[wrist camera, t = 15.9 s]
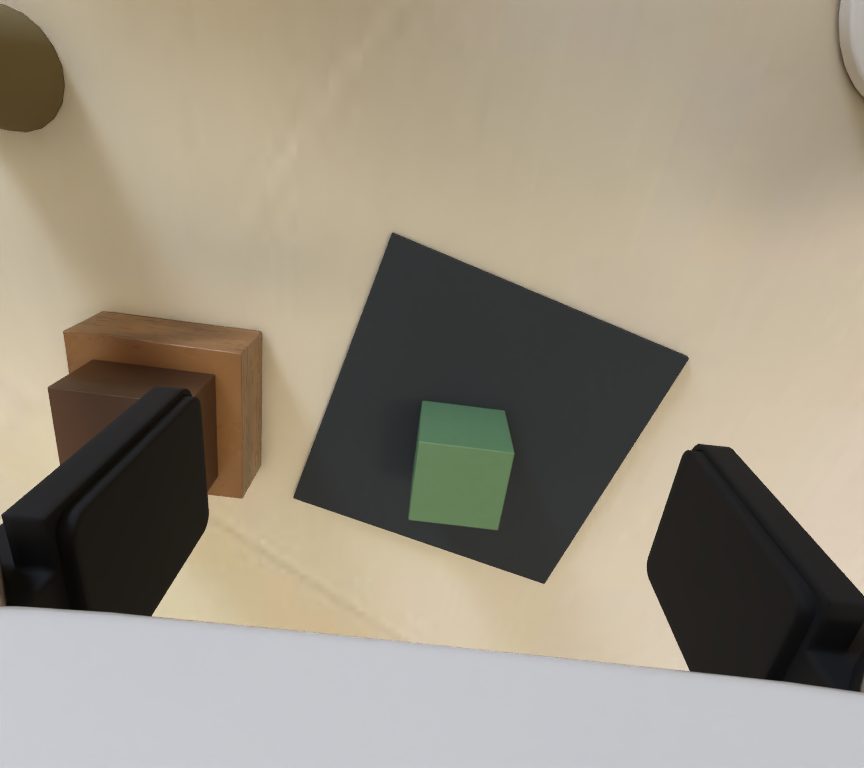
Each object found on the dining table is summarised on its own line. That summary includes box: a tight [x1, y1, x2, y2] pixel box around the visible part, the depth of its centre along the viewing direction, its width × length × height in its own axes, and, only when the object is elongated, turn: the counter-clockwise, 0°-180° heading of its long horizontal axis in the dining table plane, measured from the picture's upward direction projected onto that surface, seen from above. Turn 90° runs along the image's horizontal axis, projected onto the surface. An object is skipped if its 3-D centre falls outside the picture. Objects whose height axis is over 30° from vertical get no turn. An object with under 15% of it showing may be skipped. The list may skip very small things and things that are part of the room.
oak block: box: [63, 311, 262, 498], centre depth 35 cm, size 10×10×4 cm
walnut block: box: [48, 359, 218, 492], centre depth 32 cm, size 7×7×4 cm
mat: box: [294, 233, 689, 584], centre depth 38 cm, size 20×20×1 cm
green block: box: [408, 401, 515, 530], centre depth 35 cm, size 6×6×6 cm
